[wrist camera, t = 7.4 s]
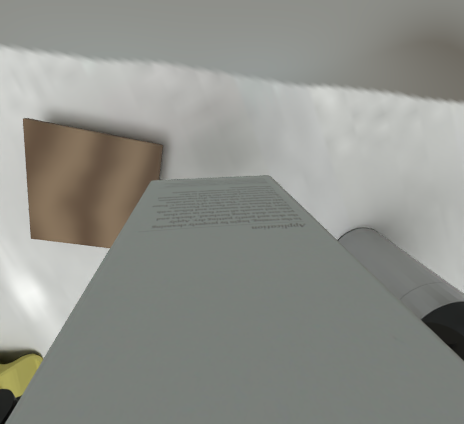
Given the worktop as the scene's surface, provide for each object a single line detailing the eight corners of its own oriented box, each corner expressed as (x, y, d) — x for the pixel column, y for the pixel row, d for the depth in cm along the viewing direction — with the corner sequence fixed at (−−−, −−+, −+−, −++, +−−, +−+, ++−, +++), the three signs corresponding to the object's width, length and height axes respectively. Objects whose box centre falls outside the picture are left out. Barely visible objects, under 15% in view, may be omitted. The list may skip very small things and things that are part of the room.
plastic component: (-54, 362, 40) (-10, 386, 37) (1, 330, 47) (41, 348, 44) (-26, 449, 46) (13, 475, 43) (18, 410, 53) (55, 430, 50)
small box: (266, 293, 17) (435, 760, 5) (166, 303, 16) (77, 872, 4) (272, 170, 14) (785, 631, 2) (148, 176, 13) (-407, 990, 1)
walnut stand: (167, 140, 34) (162, 145, 29) (155, 235, 39) (149, 253, 34) (49, 116, 31) (22, 118, 27) (52, 221, 36) (30, 238, 31)
